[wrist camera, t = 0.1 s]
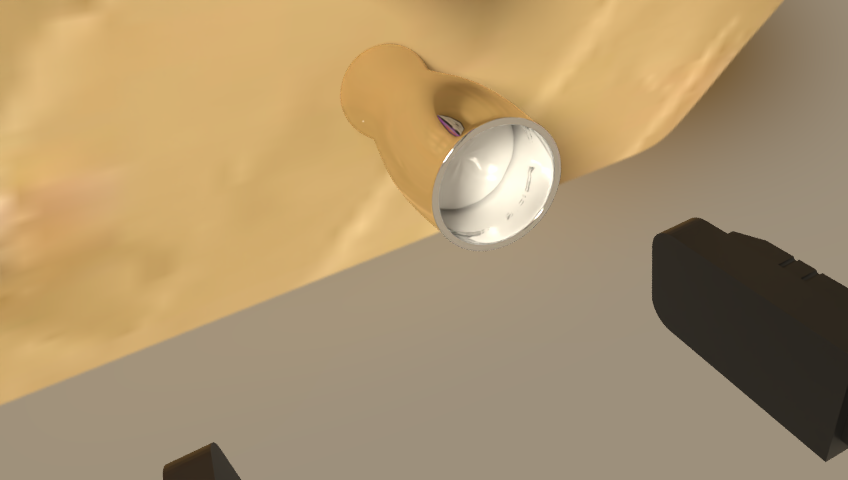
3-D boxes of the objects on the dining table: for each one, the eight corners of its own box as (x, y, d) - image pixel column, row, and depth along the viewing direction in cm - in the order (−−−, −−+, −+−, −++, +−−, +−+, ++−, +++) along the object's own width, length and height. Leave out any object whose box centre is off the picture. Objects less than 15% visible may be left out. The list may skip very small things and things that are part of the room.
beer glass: (368, 14, 37) (486, 83, 25) (454, 69, 41) (592, 152, 29) (312, 116, 39) (398, 227, 27) (401, 159, 42) (510, 273, 31)
